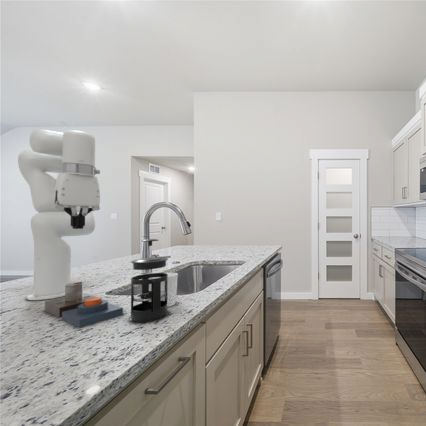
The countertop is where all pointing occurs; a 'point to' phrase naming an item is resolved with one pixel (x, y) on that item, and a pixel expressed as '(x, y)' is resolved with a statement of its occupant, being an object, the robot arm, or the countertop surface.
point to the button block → (92, 314)
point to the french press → (149, 290)
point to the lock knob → (73, 291)
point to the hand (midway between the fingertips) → (77, 228)
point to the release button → (93, 301)
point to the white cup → (170, 288)
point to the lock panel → (64, 305)
